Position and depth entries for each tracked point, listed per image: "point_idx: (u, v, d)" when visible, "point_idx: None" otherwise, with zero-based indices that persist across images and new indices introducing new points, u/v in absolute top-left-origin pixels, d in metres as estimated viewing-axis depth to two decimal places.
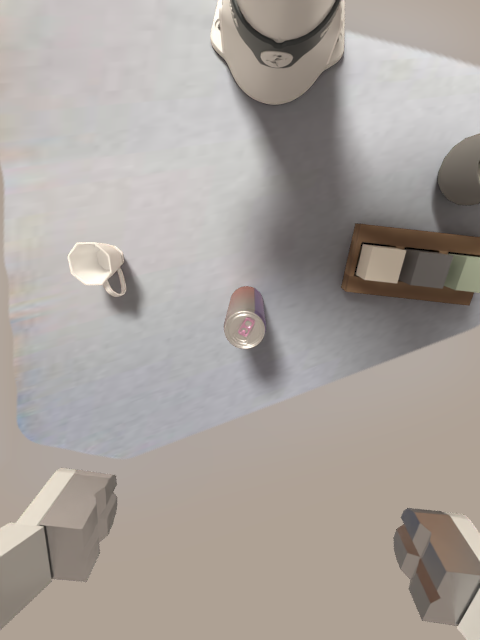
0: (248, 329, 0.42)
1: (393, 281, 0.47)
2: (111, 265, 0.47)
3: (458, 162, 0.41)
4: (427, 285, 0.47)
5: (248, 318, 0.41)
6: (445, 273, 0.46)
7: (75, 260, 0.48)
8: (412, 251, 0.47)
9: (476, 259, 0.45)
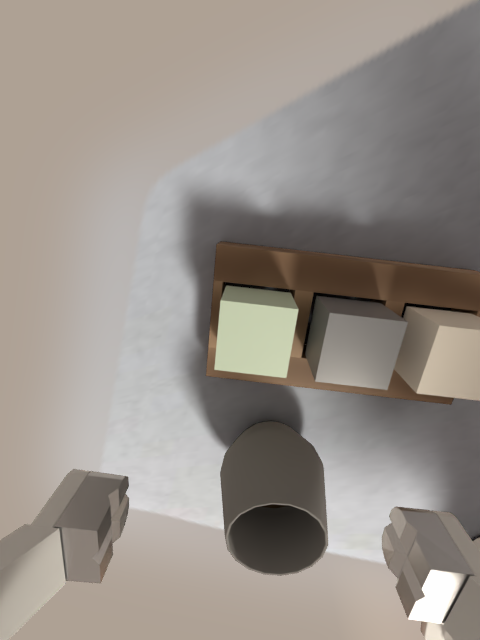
0: None
1: (447, 330, 0.19)
2: None
3: None
4: (366, 320, 0.19)
5: None
6: (327, 346, 0.20)
7: None
8: None
9: (265, 373, 0.21)
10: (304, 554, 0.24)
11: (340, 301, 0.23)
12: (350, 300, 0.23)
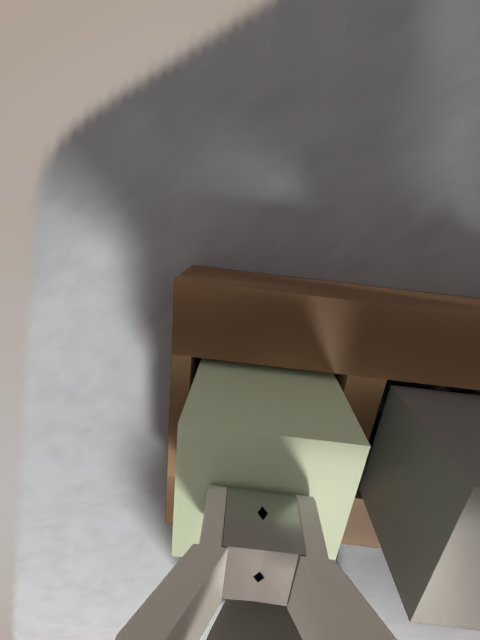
0: None
1: None
2: None
3: None
4: None
5: None
6: (452, 557, 0.08)
7: None
8: None
9: None
10: None
11: (452, 406, 0.10)
12: (466, 397, 0.11)
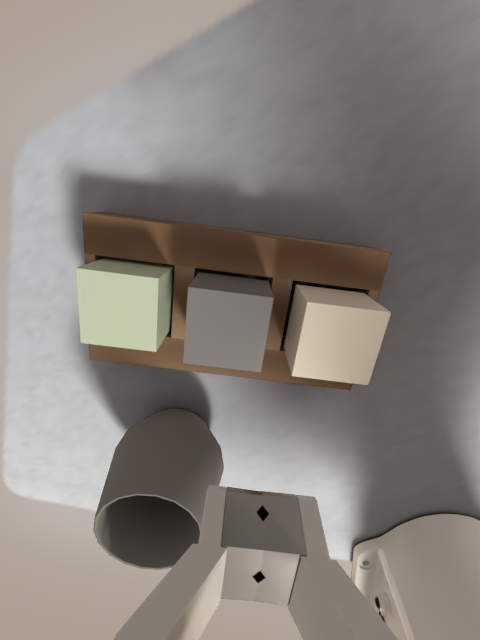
0: None
1: (317, 307, 0.18)
2: None
3: None
4: (228, 295, 0.18)
5: None
6: (190, 324, 0.18)
7: None
8: None
9: (134, 347, 0.20)
10: (187, 547, 0.23)
11: (220, 277, 0.21)
12: (234, 277, 0.21)
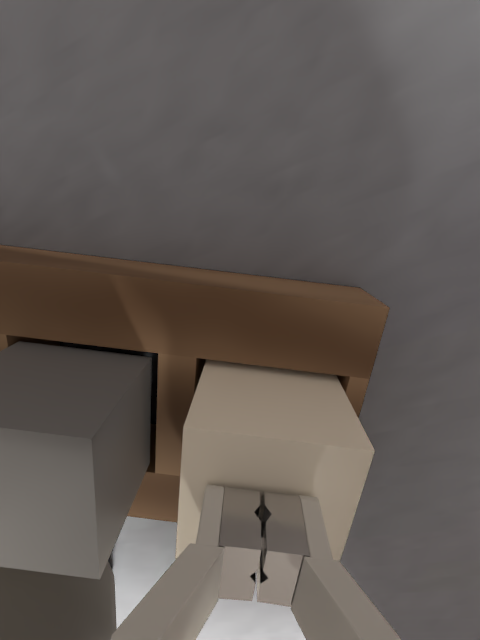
0: None
1: (206, 437, 0.08)
2: None
3: None
4: None
5: None
6: None
7: None
8: (128, 507, 0.11)
9: None
10: None
11: (43, 358, 0.10)
12: (82, 352, 0.11)
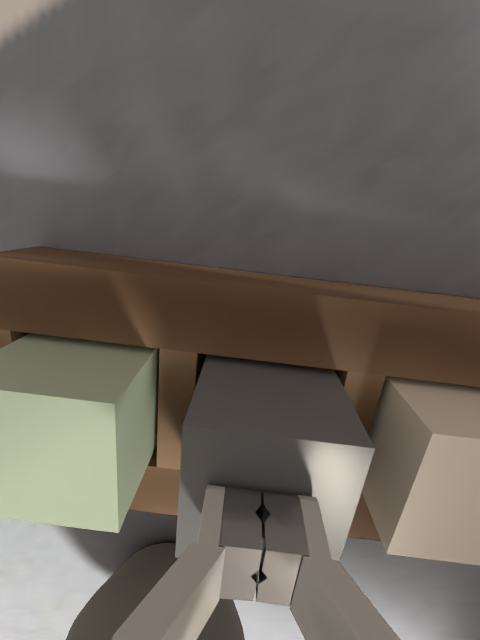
0: None
1: (451, 442, 0.09)
2: None
3: None
4: (273, 443, 0.08)
5: None
6: (189, 492, 0.09)
7: None
8: None
9: (74, 524, 0.10)
10: None
11: (246, 369, 0.11)
12: (272, 363, 0.12)
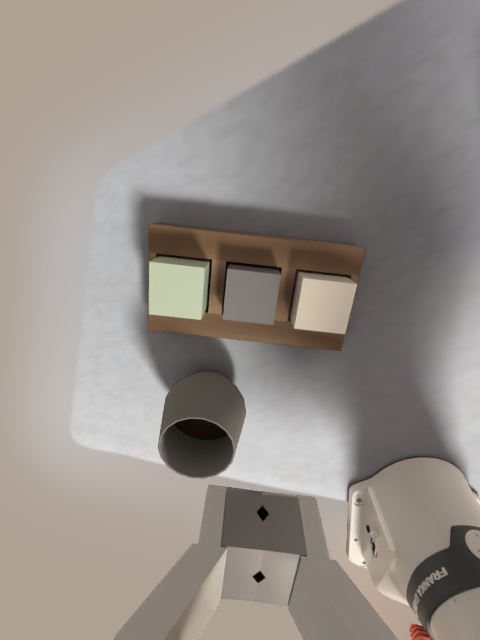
0: None
1: (309, 281, 0.28)
2: None
3: None
4: (252, 273, 0.28)
5: None
6: (228, 293, 0.29)
7: None
8: None
9: (186, 316, 0.29)
10: (222, 463, 0.31)
11: (244, 264, 0.31)
12: (254, 264, 0.32)
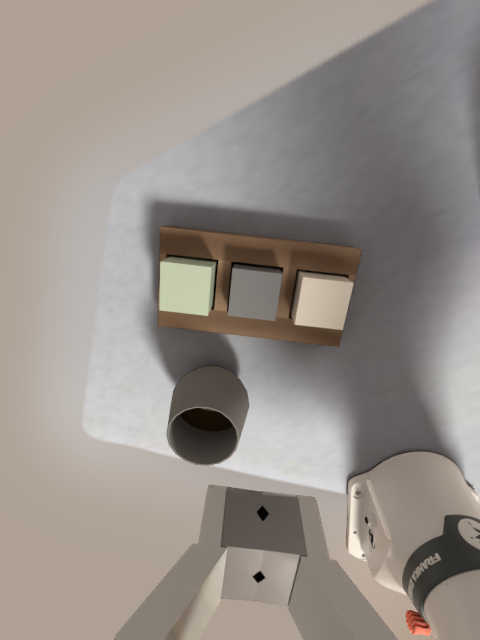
0: None
1: (308, 280, 0.30)
2: None
3: None
4: (256, 273, 0.30)
5: None
6: (233, 291, 0.31)
7: None
8: None
9: (193, 312, 0.31)
10: (226, 452, 0.33)
11: (248, 264, 0.33)
12: (257, 264, 0.34)
